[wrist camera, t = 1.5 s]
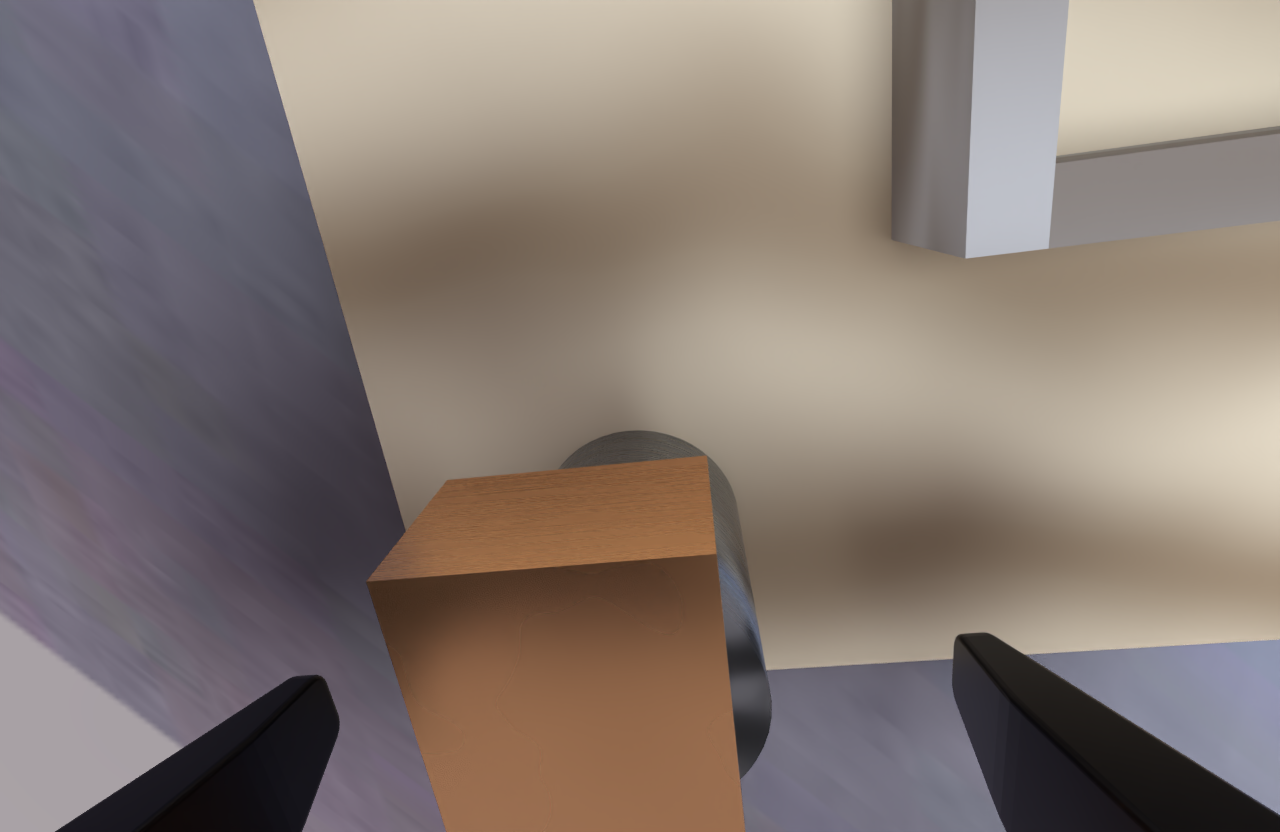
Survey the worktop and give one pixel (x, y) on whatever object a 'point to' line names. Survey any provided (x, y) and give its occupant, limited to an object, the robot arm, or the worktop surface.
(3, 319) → the worktop surface
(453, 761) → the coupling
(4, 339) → the worktop surface
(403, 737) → the worktop surface
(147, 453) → the worktop surface
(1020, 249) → the base
